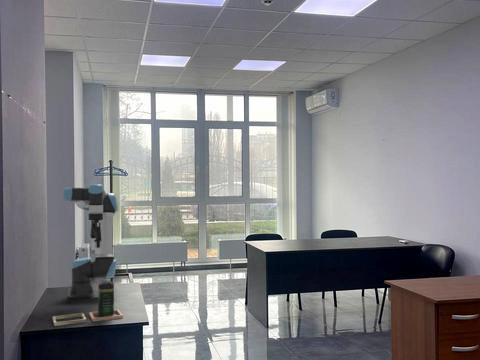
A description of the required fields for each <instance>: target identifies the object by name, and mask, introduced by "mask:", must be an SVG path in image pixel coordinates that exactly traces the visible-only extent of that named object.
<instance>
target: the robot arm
mask: <svg viewBox="0 0 480 360" xmlns="http://www.w3.org/2000/svg"><path fill="white" fill-rule="evenodd" d="M62 193H63V194H62V195H63V196H62V197H63V200H64V201H65V202H73V203H74V204H75V205H76V206H77V208H79V209H80V210H84V211H87V212H88V220H89V221H90V223H91V225H90V234H89V236H90V250H91V251H94V255H96V254H97V255H96V256H95V259H92V257H81V258H78V259H75V260H73V261H72V263H71V286H70V288H69V291H68V298H70V299H86V298H87V299H88V298H91V297H94V296H95V290H94V287H93V284H92V280H95V279H100V280H101V279H106V280H108V279H112V278H114V276H115V275H116V274H115V273H116V270H117V259H116V258H115V255H113V225H114V224H113V220H114V218H113V217H114V216H115V215H116V212H118V210H119V209H118V207H119V206H118V200H117V196H116V194H115V193H112V192H106V190H104V186H103V184H89V185H88V187H71V186H70V187H65V188H64V189H63V192H62Z"/></svg>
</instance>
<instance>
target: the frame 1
mask: <svg viewBox="0 0 480 360" xmlns="http://www.w3.org/2000/svg"><path fill="white" fill-rule="evenodd" d="M79 317H80V318H81V319H73V320H71V319H72V318H79ZM64 319H70V320H64ZM57 320H62V321H57ZM63 320H64V321H63ZM52 322H53V326H54V327H59V326H66V325H73V324H74V325H75V324H83V323H84V324H85V323H87V317H86V316H85V313H84V312H80V313H71V314H62V315H54V316H53V315H52Z"/></svg>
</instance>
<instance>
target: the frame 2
mask: <svg viewBox="0 0 480 360" xmlns="http://www.w3.org/2000/svg"><path fill="white" fill-rule="evenodd" d="M88 313H89V314H88V316H89V317H90V319H91V321H92V322H99V321H100V322H101V321H109V320H117V319H123V318H124V314H123V313H122V312H121V311H120V310H119V309H118V308H117V309H116V308H115V309H114V315H113V316H106V317H98V310H97V311H90V312H88ZM115 313H116V315H115ZM95 316H97V317H95Z"/></svg>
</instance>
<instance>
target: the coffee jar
mask: <svg viewBox="0 0 480 360" xmlns="http://www.w3.org/2000/svg"><path fill="white" fill-rule="evenodd" d="M97 287H98V289H97V291H98V298H97V302H98V303H97V311H98V315H97V317H106V316H115V313H114V310H115V309H114V308H115V307H114V305H115V283H114V282H113V281H111V280H108V279H106V280H101V281H100V282H99V283H98V285H97Z"/></svg>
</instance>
